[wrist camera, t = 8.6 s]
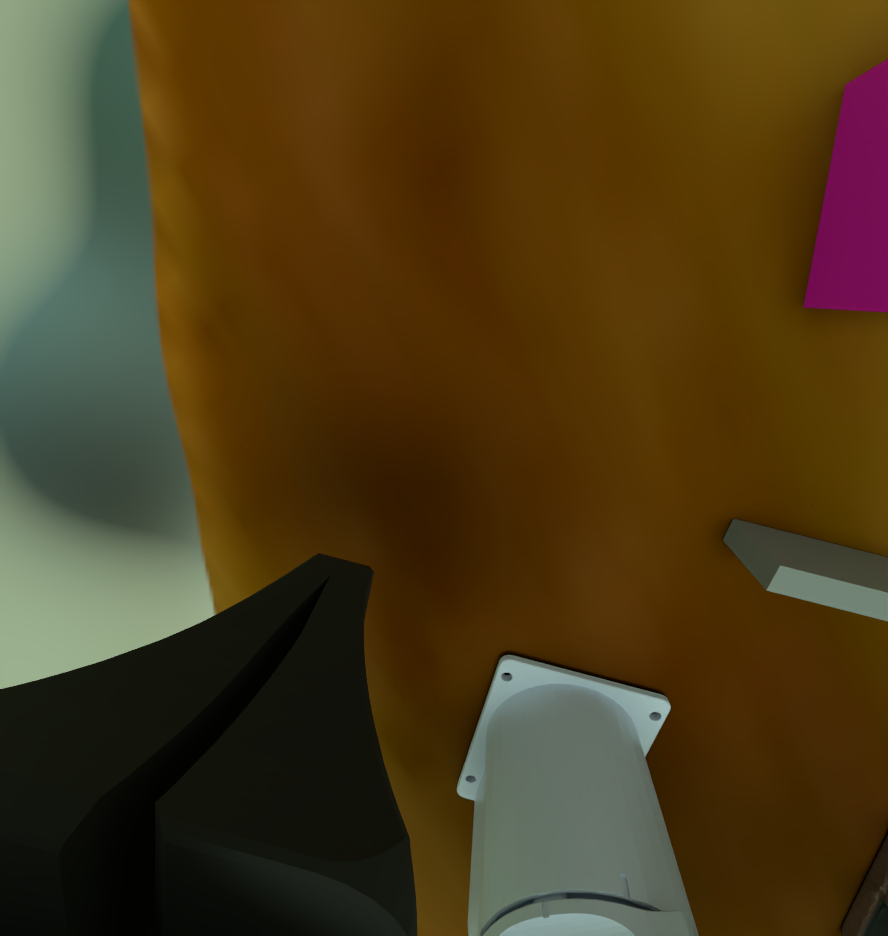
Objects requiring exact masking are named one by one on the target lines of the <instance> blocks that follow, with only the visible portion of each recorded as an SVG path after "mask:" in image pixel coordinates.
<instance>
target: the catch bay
mask: <svg viewBox="0 0 888 936" xmlns="http://www.w3.org/2000/svg"><path fill="white" fill-rule="evenodd" d="M723 541H724V542H725V543H726V544H727V546H728V547H729V548H730V549H731V550H732V551H733V552H734V554H735V555H736V556H737V557H738V558H739V559H740V561H741V562H742V563H743V564H744V565H745V566H746V567H747V569H748V570H749V571H750V572H751V573H752V574H753V575H754V577H755V578H756V579H757V580H758V581H759V582H760V584H761V585H762V586H763V587H764V588H765V589H766V590H767V591H771V592H775V593H779V594H783V595H787V596H791V597H795V598H799V599H802V600H806V601H810V602H814V603H818V604H822V605H826V606H830V607H834V608H838V609H842V610H846V611H849V612H853V613H857V614H861V615H865V616H869V617H873V618H877V619H881V620H885V621H888V557H885V556H881V555H877V554H873V553H869V552H865V551H861V550H857V549H853V548H849V547H845V546H841V545H837V544H833V543H829V542H825V541H821V540H817V539H813V538H809V537H805V536H801V535H797V534H793V533H789V532H785V531H781V530H777V529H773V528H769V527H765V526H761V525H757V524H753V523H749V522H745V521H742V520H738V519H734V518H733V520H732V522H731V524H730V526H729V528H728V530H727V532H726V534H725V536H724V538H723Z"/></svg>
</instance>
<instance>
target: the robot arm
mask: <svg viewBox="0 0 888 936" xmlns="http://www.w3.org/2000/svg"><path fill="white" fill-rule="evenodd" d="M373 573H374V572H373V570H372V569H371V567H369V566H366V565H362V564H358V563H354V562H350V561H346V560H342V559H339V558H335V557H331V556H327V555H323V554H317V555H315V556H313V557H312V558H310V559H309V560H307V561H306V562H304V563H302V564H301V565H299V566H298V567H296V568H295V569H293V570H292V571H290V572H289V573H287V574H286V575H284V576H282V577H281V578H279V579H278V580H276V581H275V582H273V583H271V584H270V585H268V586H266V587H265V588H263V589H261V590H260V591H258V592H256V593H255V594H253V595H251V596H250V597H248V598H246V599H244V600H243V601H241V602H239V603H237V604H235V605H233V606H232V607H230V608H228V609H226V610H224V611H222V612H220V613H219V614H217V615H215V616H213V617H211V618H209V619H207V620H205V621H203V622H201V623H199V624H196V625H194V626H192V627H190V628H188V629H185V630H183V631H181V632H178V633H176V634H174V635H172V636H169V637H167V638H164V639H162V640H160V641H157V642H154V643H151V644H149V645H146V646H143V647H140V648H138V649H135V650H132V651H129V652H127V653H124V654H121V655H118V656H115V657H113V658H110V659H107V660H104V661H101V662H98V663H95V664H92V665H88V666H85V667H82V668H78V669H75V670H72V671H69V672H65V673H61V674H58V675H54V676H51V677H47V678H44V679H40V680H37V681H32V682H28V683H25V684H21V685H17V686H13V687H8V688H4V689H0V936H417V910H416V895H415V885H414V875H413V866H412V858H411V849H410V839H409V835H408V833H407V830H406V827H405V825H404V822H403V819H402V817H401V814H400V811H399V808H398V805H397V803H396V800H395V797H394V794H393V791H392V788H391V785H390V781H389V778H388V775H387V771H386V768H385V765H384V762H383V758H382V754H381V749H380V745H379V741H378V737H377V733H376V729H375V725H374V721H373V716H372V710H371V705H370V699H369V693H368V686H367V678H366V669H365V657H364V618H365V613H366V608H367V603H368V598H369V593H370V588H371V583H372V578H373ZM503 673H510V675H504V674H503ZM670 708H671V706H670V703H669V701H668V699H667V698H666V696H664V695H662V694H658V693H654V692H650V691H646V690H643V689H639V688H635V687H631V686H628V685H624V684H620V683H616V682H612V681H609V680H605V679H601V678H597V677H593V676H590V675H586V674H582V673H578V672H574V671H571V670H567V669H563V668H559V667H555V666H552V665H548V664H544V663H540V662H536V661H533V660H529V659H525V658H521V657H517V656H514V655H505V656H503V657H501V659H500V660H499V663H498V666H497V669H496V671H495V674H494V677H493V680H492V683H491V686H490V689H489V692H488V695H487V698H486V701H485V704H484V707H483V710H482V713H481V716H480V719H479V721H478V724H477V727H476V730H475V733H474V736H473V739H472V742H471V745H470V748H469V751H468V754H467V757H466V760H465V763H464V766H463V769H462V771H461V774H460V777H459V780H458V783H457V792H458V794H459V795H460V796H461V797H464V798H467V799H471V800H474V801H475V805H474V822H473V839H472V857H471V874H470V891H469V909H468V936H699V935H698V932H697V929H696V925H695V922H694V919H693V915H692V912H691V909H690V905H689V902H688V899H687V895H686V892H685V889H684V885H683V882H682V879H681V875H680V872H679V869H678V865H677V862H676V859H675V855H674V852H673V849H672V845H671V842H670V839H669V835H668V832H667V829H666V825H665V822H664V819H663V815H662V812H661V809H660V805H659V802H658V799H657V795H656V792H655V789H654V785H653V782H652V779H651V775H650V772H649V769H648V765H647V762H646V759H645V756H646V754H647V753H648V751H649V749H650V747H651V745H652V743H653V741H654V739H655V738H656V736H657V734H658V732H659V730H660V728H661V726H662V724H663V723H664V721H665V719H666V717H667V715H668V713H669V711H670ZM653 712H657V713H655V714H651V713H653Z"/></svg>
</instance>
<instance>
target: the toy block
mask: <svg viewBox="0 0 888 936" xmlns="http://www.w3.org/2000/svg"><path fill="white" fill-rule="evenodd" d="M804 308H822V309H839V310H856V311H874V312H888V59H887V60H885V61H884V62H882V63H880V64H879V65H877V66H875V67H874V68H872V69H870V70H869V71H867V72H865V73H864V74H862V75H861V76H859V77H857V78H856V79H854V80H852V81H851V82H849V83H847V84H846V85H845V90H844V95H843V100H842V106H841V111H840V116H839V122H838V127H837V132H836V138H835V143H834V148H833V154H832V159H831V164H830V170H829V175H828V180H827V185H826V191H825V196H824V201H823V207H822V212H821V217H820V223H819V228H818V233H817V239H816V244H815V249H814V255H813V260H812V265H811V271H810V276H809V281H808V287H807V292H806V297H805V303H804Z"/></svg>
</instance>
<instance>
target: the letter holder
mask: <svg viewBox="0 0 888 936" xmlns="http://www.w3.org/2000/svg"><path fill="white" fill-rule="evenodd" d="M842 932H843V936H888V835H887V837H886V839H885V841H884V843H883V845H882V847H881V849H880V851H879V853H878V855H877V857H876V859H875V861H874V863H873V865H872V867H871V869H870V871H869V873H868V875H867V877H866V879H865V881H864V883H863V885H862V887H861V889H860V891H859V893H858V895H857V897H856V899H855V901H854V903H853V904H852V907H851V909H850V911H849V913H848V915H847V918H846V920H845V921H844V924H843V926H842Z"/></svg>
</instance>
